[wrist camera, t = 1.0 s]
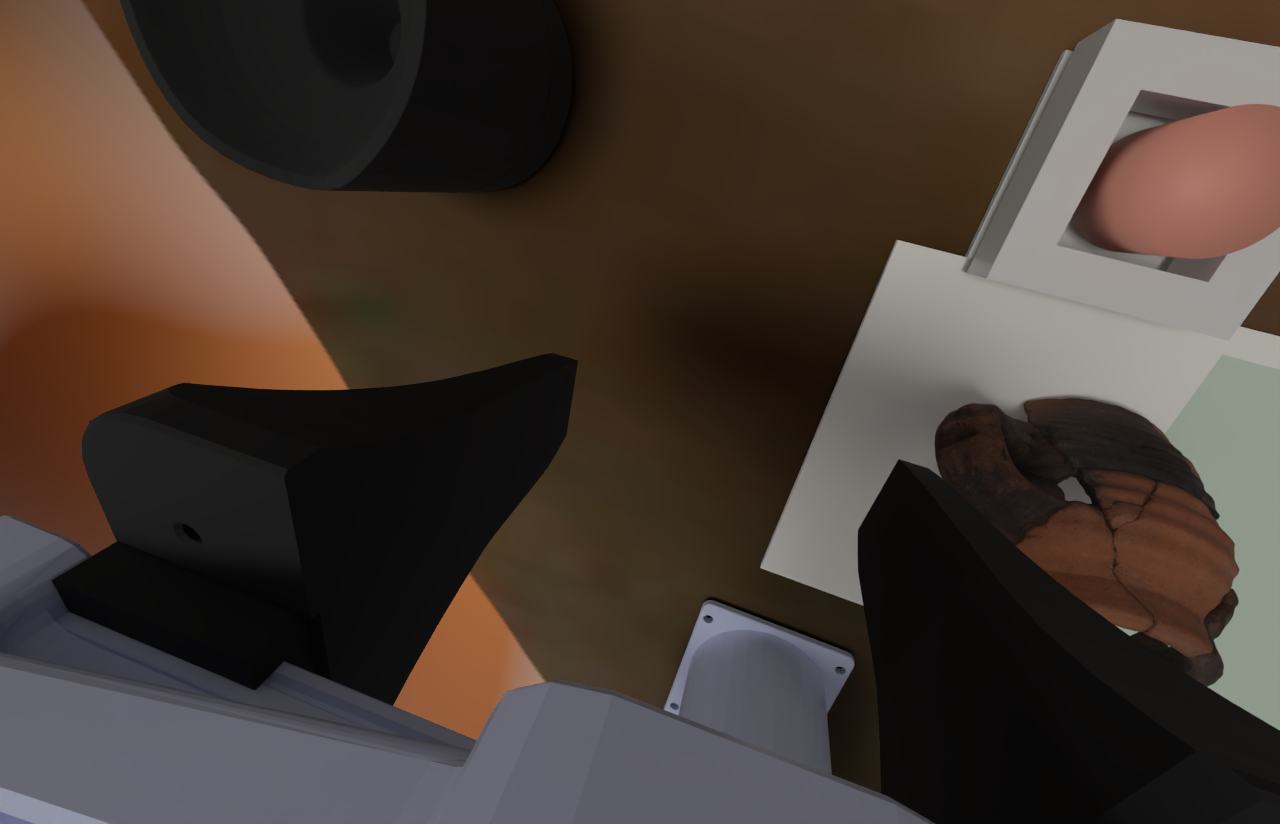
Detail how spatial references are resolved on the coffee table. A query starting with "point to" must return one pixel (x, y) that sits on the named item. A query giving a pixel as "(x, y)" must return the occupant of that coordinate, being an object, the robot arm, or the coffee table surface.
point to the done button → (1188, 186)
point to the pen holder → (365, 87)
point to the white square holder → (1072, 152)
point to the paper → (1008, 377)
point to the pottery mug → (1103, 517)
